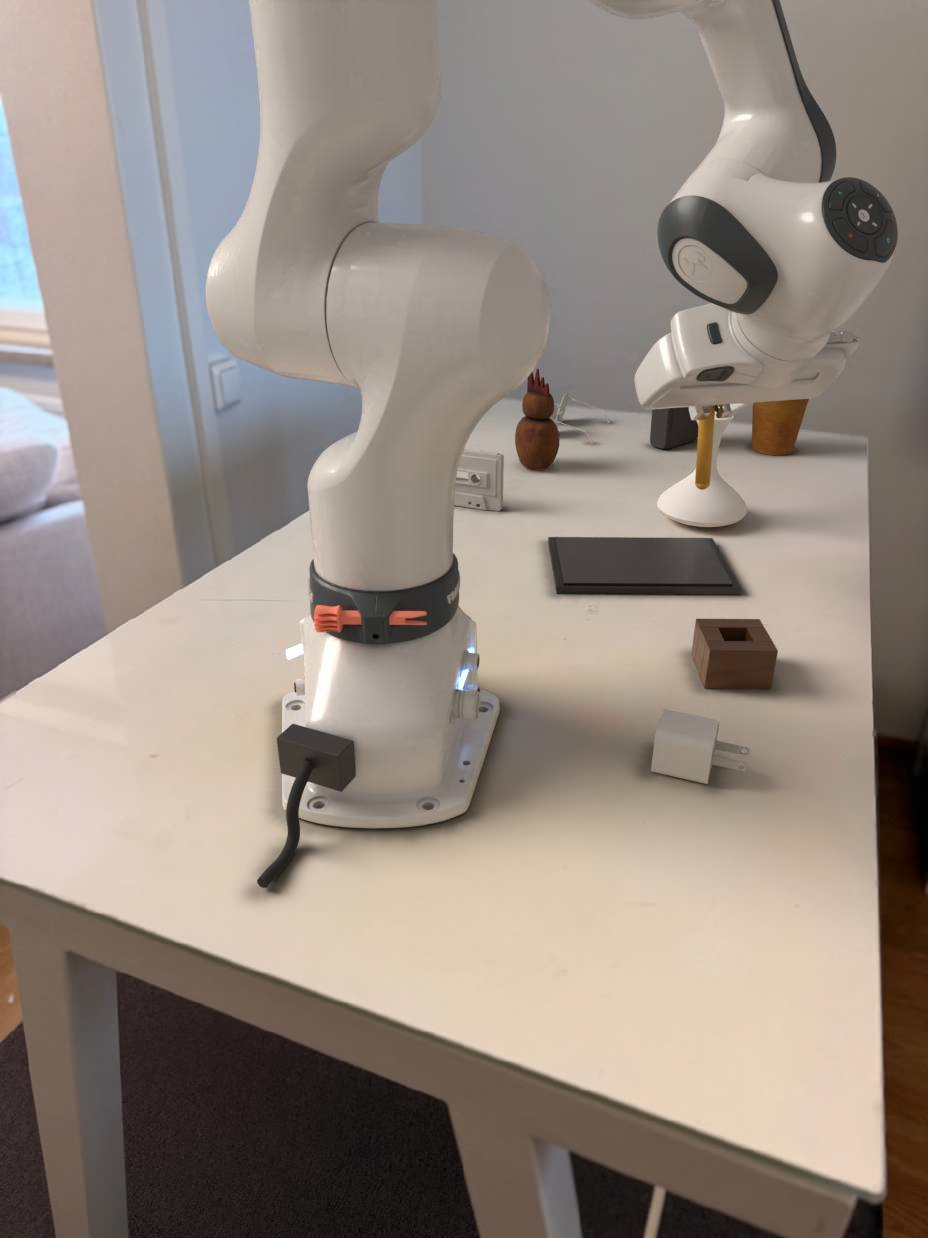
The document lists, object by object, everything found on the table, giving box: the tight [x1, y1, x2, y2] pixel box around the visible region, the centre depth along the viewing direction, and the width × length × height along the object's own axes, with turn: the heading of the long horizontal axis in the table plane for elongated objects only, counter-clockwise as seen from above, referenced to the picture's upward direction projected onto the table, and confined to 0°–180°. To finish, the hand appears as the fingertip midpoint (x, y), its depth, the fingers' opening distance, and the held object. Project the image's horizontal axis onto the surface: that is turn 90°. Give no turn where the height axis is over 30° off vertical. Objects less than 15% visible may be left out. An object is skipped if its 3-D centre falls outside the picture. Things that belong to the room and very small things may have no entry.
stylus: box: [695, 405, 715, 490], centre depth 97 cm, size 2×2×15 cm
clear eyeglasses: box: [550, 392, 611, 445], centre depth 152 cm, size 14×8×5 cm, turn 160°
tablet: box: [547, 536, 742, 596], centre depth 104 cm, size 14×20×1 cm
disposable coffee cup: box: [751, 399, 810, 456], centre depth 141 cm, size 10×10×12 cm
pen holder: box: [690, 618, 779, 690], centre depth 83 cm, size 6×6×4 cm
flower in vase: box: [656, 412, 748, 528], centre depth 113 cm, size 13×11×25 cm
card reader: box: [649, 407, 699, 450], centre depth 143 cm, size 9×4×15 cm, turn 130°
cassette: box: [454, 448, 505, 512], centre depth 121 cm, size 12×2×8 cm, turn 68°
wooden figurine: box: [514, 368, 561, 471], centre depth 133 cm, size 7×6×15 cm
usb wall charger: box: [650, 708, 751, 785], centre depth 70 cm, size 4×7×4 cm, turn 69°
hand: (708, 413), depth 97 cm, fingers closed on stylus, 1 cm apart
